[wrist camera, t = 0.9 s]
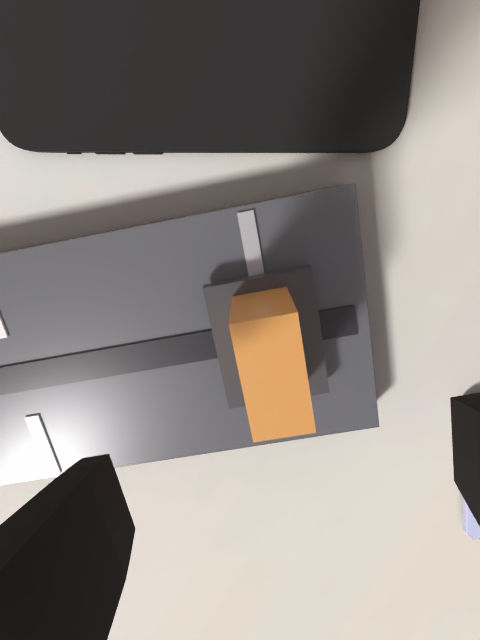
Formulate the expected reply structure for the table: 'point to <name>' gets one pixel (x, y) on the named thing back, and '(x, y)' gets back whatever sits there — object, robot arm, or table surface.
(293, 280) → the fader
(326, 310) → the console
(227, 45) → the phone
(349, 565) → the table surface
